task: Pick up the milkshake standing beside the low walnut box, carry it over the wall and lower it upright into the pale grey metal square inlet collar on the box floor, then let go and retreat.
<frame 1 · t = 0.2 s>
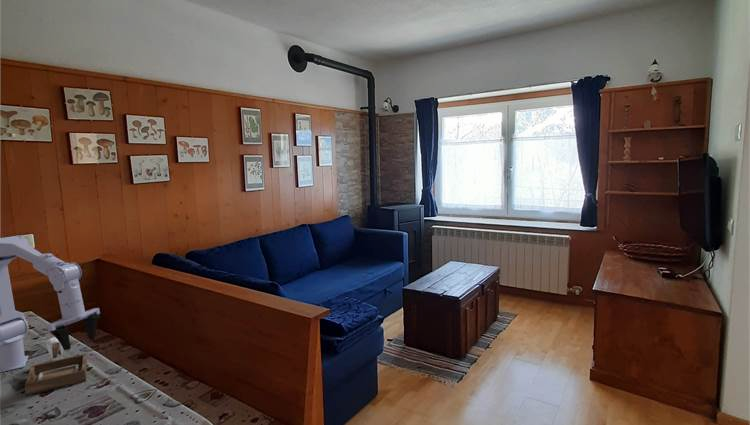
hand: (80, 344, 123), 11 cm above the table, tool pointing down, fingers open, 7 cm apart
milkshake: (58, 363, 132), on the table
socket box: (58, 378, 122), on the table
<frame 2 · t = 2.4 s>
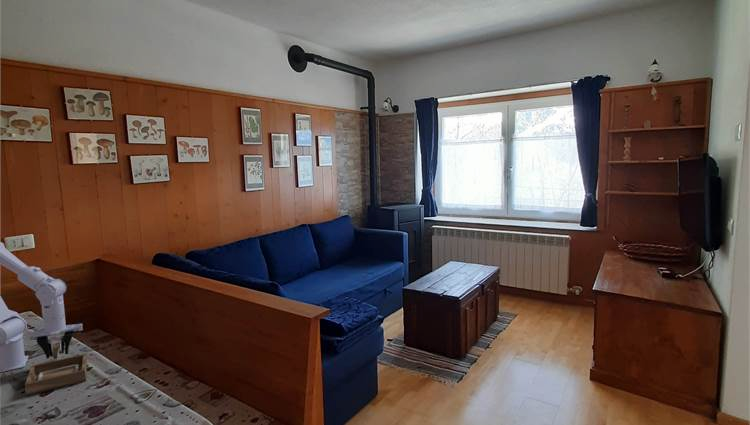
hand: (57, 355, 132), 3 cm above the table, tool pointing down, fingers closed on milkshake, 4 cm apart
milkshake: (58, 363, 132), on the table, touching gripper
when the fingers open (4 cm above the table, at t = 5.9 s): milkshake stays where it is, resting on socket box.
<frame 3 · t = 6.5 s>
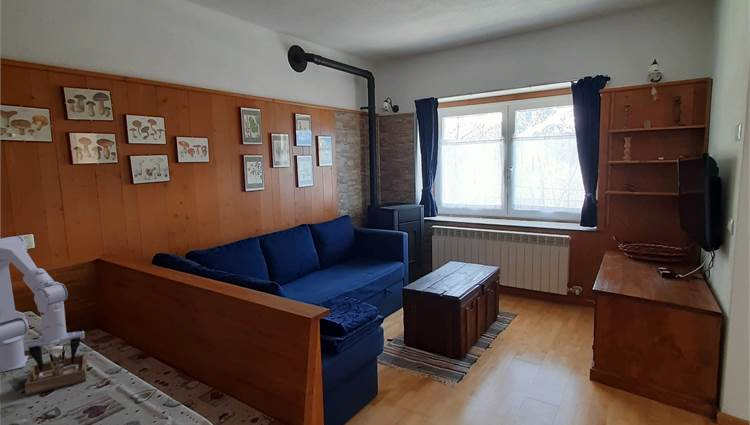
hand: (57, 365, 122), 4 cm above the table, tool pointing down, fingers open, 7 cm apart
milkshake: (60, 375, 124), resting on socket box
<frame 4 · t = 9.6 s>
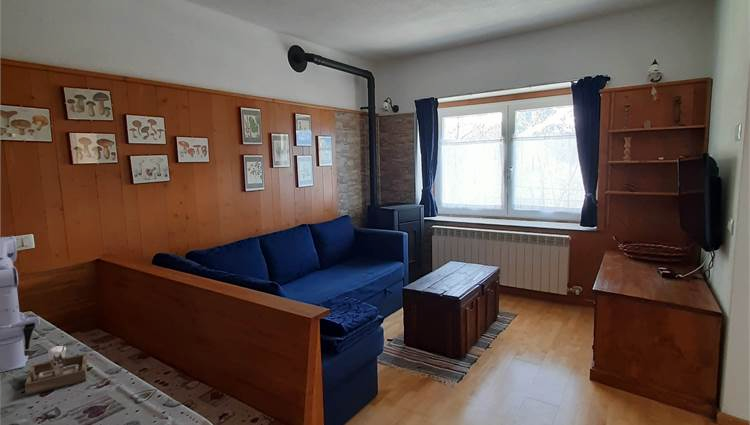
hand: (10, 351, 118), 10 cm above the table, tool pointing down, fingers open, 7 cm apart
nothing on the table moved.
at the end: milkshake 1.2 cm off-centre on the socket box, point 0.4 cm above the socket box's base; milkshake tilted 0°; the gripper is holding nothing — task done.
